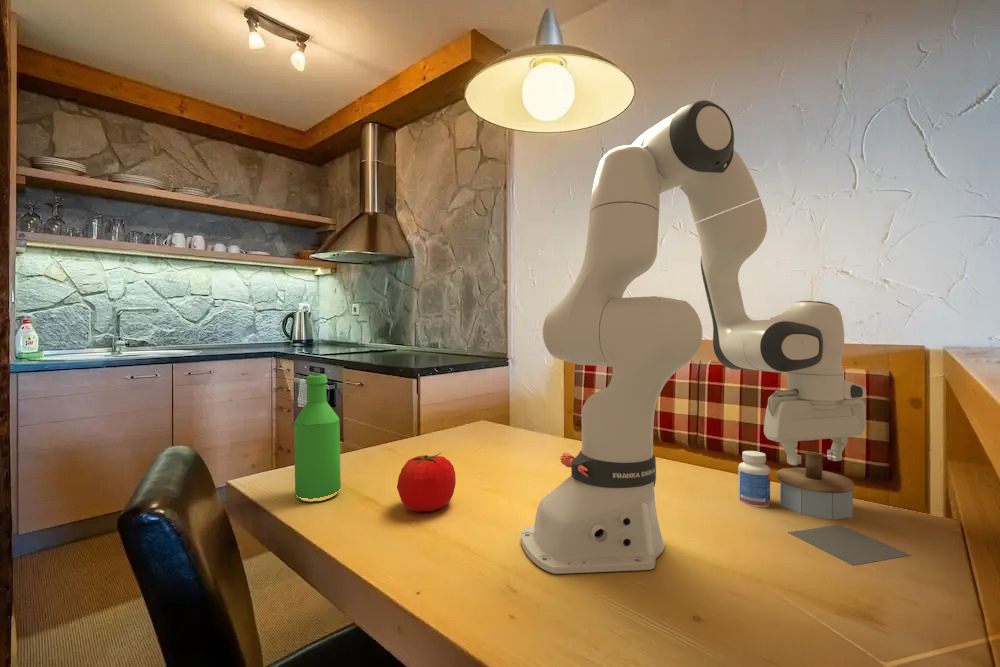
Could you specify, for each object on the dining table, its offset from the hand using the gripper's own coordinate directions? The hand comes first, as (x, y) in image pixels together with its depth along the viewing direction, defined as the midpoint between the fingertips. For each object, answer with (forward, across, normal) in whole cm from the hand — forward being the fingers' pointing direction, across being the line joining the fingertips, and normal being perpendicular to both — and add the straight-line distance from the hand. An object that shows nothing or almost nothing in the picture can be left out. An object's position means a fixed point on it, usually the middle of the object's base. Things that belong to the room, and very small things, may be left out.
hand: (814, 462), depth 88 cm
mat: (+9, -8, -13) cm, 18 cm away
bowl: (+9, 0, 0) cm, 9 cm away
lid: (+4, 0, 0) cm, 4 cm away
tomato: (+9, -70, +21) cm, 74 cm away
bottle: (+9, -91, +33) cm, 97 cm away
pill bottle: (+9, -9, +5) cm, 14 cm away
